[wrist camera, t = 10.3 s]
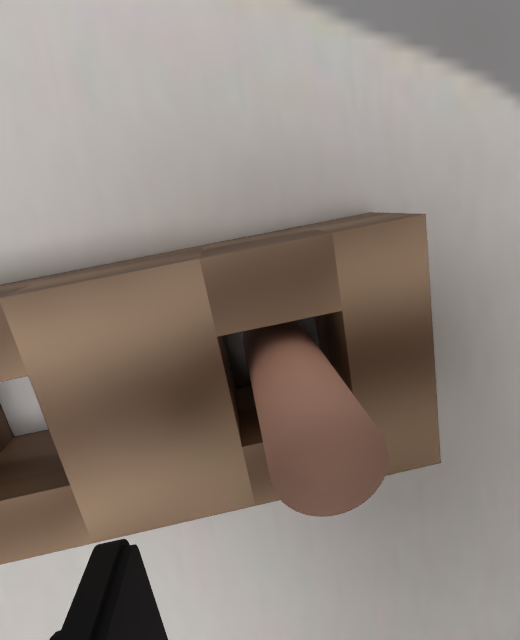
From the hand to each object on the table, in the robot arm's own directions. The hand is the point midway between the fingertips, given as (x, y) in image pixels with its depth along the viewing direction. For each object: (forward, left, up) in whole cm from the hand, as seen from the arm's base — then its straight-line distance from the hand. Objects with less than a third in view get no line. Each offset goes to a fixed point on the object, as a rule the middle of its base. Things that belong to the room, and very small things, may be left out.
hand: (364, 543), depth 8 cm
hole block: (+1, +6, -12) cm, 13 cm away
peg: (+1, 0, -12) cm, 12 cm away
